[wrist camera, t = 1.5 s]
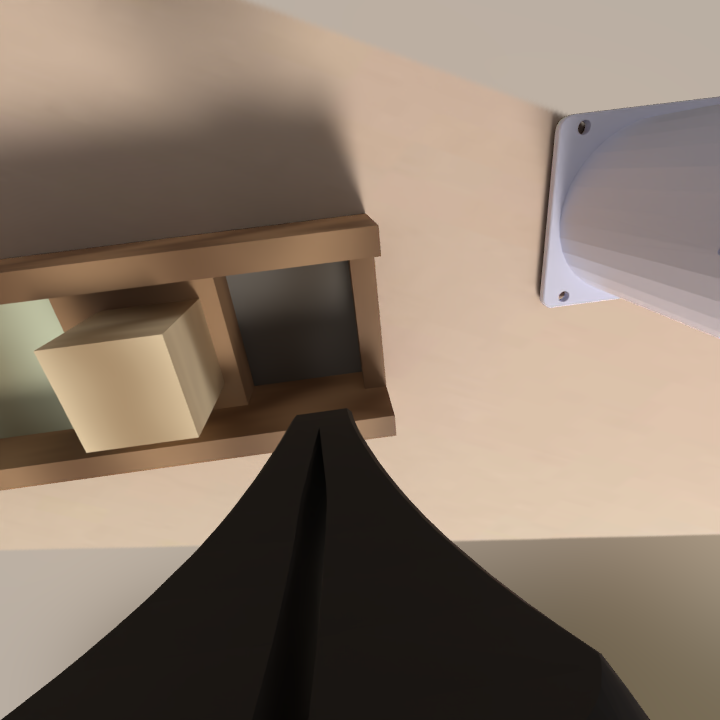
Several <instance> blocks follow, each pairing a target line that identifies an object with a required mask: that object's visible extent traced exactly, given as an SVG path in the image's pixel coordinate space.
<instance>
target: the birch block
mask: <svg viewBox="0 0 720 720" xmlns="http://www.w3.org/2000/svg"><path fill="white" fill-rule="evenodd" d="M34 353H35V355H36V357H37V359H38V361H39V363H40V365H41V367H42V369H43V371H44V373H45V374H46V376H47V378H48V380H49V382H50V384H51V386H52V388H53V390H54V392H55V394H56V396H57V397H58V399H59V401H60V403H61V405H62V407H63V409H64V411H65V413H66V415H67V417H68V418H69V420H70V422H71V424H72V426H73V428H74V430H75V432H76V434H77V436H78V438H79V440H80V441H81V443H82V445H83V447H84V449H85V451H86V453H89V452H96V451H104V450H111V449H118V448H125V447H133V446H140V445H147V444H154V443H162V442H169V441H176V440H183V439H191V438H198V437H199V436H200V434H201V432H202V430H203V428H204V426H205V424H206V422H207V420H208V418H209V416H210V414H211V411H212V409H213V407H214V405H215V403H216V401H217V399H218V397H219V395H220V393H221V391H222V389H223V387H224V385H225V382H224V379H223V375H222V372H221V369H220V365H219V362H218V359H217V355H216V352H215V349H214V345H213V342H212V339H211V335H210V332H209V329H208V325H207V322H206V319H205V315H204V312H203V309H202V305H201V302H200V298H198V299H191V300H183V301H175V302H167V303H160V304H152V305H144V306H136V307H129V308H121V309H113V310H105V311H100V312H98V313H97V314H95V315H93V316H92V317H90V318H88V319H86V320H85V321H83V322H81V323H80V324H78V325H76V326H75V327H73V328H71V329H70V330H68V331H66V332H65V333H63V334H61V335H60V336H58V337H56V338H55V339H53V340H51V341H50V342H48V343H46V344H45V345H43V346H41V347H40V348H38V349H36V350H35V351H34Z"/></svg>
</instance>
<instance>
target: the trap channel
mask: <svg viewBox="0 0 720 720" xmlns="http://www.w3.org/2000/svg"><path fill="white" fill-rule="evenodd" d="M378 256H381V251H380V239H379V227H378V225H377V224H376V223H375V222H374V221H373V220H372V219H371V218H370V217H369V216H368V215H367V214H358V215H350V216H342V217H334V218H326V219H318V220H310V221H302V222H294V223H286V224H278V225H270V226H262V227H254V228H246V229H238V230H230V231H222V232H214V233H206V234H198V235H190V236H182V237H174V238H166V239H158V240H150V241H142V242H134V243H126V244H118V245H110V246H102V247H94V248H86V249H79V250H71V251H63V252H55V253H47V254H39V255H31V256H23V257H15V258H7V259H0V490H8V489H15V488H22V487H29V486H36V485H43V484H51V483H58V482H65V481H72V480H79V479H87V478H94V477H101V476H108V475H115V474H122V473H130V472H137V471H144V470H151V469H158V468H165V467H173V466H180V465H187V464H194V463H201V462H209V461H216V460H223V459H230V458H237V457H244V456H252V455H259V454H266V453H273V452H274V450H275V449H276V447H277V445H278V444H279V442H280V441H281V439H282V437H283V436H284V434H285V432H286V430H287V429H288V427H289V425H290V424H291V422H292V420H293V419H294V418H295V416H296V415H301V414H308V413H315V412H323V411H330V410H337V409H344V408H348V409H349V410H350V411H352V414H353V418H354V420H355V423H356V425H357V427H358V429H359V431H360V433H361V435H362V436H363V438H364V440H366V439H374V438H381V437H388V436H395V435H396V426H395V415H394V412H393V408H392V405H391V401H390V398H389V394H388V391H387V387H386V379H385V369H384V358H383V347H382V336H381V326H380V315H379V304H378V293H377V283H376V272H375V261H374V257H378ZM198 298H200V302H201V305H202V309H203V312H204V315H205V319H206V322H207V325H208V329H209V332H210V335H211V339H212V342H213V345H214V349H215V352H216V355H217V359H218V362H219V365H220V369H221V372H222V375H223V379H224V382H225V385H224V387H223V389H222V391H221V393H220V395H219V397H218V399H217V401H216V403H215V405H214V407H213V409H212V411H211V414H210V416H209V418H208V420H207V422H206V424H205V426H204V428H203V430H202V432H201V434H200V436H199V437H198V438H191V439H183V440H176V441H169V442H162V443H154V444H147V445H140V446H133V447H125V448H118V449H111V450H104V451H96V452H89V453H86V451H85V449H84V447H83V445H82V443H81V441H80V440H79V438H78V436H77V434H76V432H75V430H74V428H73V426H72V424H71V422H70V420H69V418H68V417H67V415H66V413H65V411H64V409H63V407H62V405H61V403H60V401H59V399H58V397H57V396H56V394H55V392H54V390H53V388H52V386H51V384H50V382H49V380H48V378H47V376H46V374H45V373H44V371H43V369H42V367H41V365H40V363H39V361H38V359H37V357H36V355H35V353H34V351H35V350H36V349H38V348H40V347H41V346H43V345H45V344H46V343H48V342H50V341H51V340H53V339H55V338H56V337H58V336H60V335H61V334H63V333H65V332H66V331H68V330H70V329H71V328H73V327H75V326H76V325H78V324H80V323H81V322H83V321H85V320H86V319H88V318H90V317H92V316H93V315H95V314H97V313H98V312H100V311H105V310H113V309H121V308H129V307H136V306H144V305H152V304H160V303H167V302H175V301H183V300H191V299H198Z"/></svg>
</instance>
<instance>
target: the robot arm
mask: <svg viewBox="0 0 720 720" xmlns="http://www.w3.org/2000/svg"><path fill="white" fill-rule="evenodd" d="M581 121H583V122H584V124H585V129H584V132H583V133H582V134H580V133H579V132H578V126H579V124H580V123H581ZM563 291H565V294H564V297H563V298H562V299H559V298H558V297H559V294H560V293H561V292H563ZM620 298H621V299H624V300H626V301H629V302H631V303H634V304H636V305H638V306H641V307H643V308H646V309H648V310H650V311H653V312H655V313H658V314H660V315H663V316H665V317H667V318H670V319H672V320H675V321H677V322H680V323H682V324H684V325H687V326H689V327H692V328H694V329H697V330H699V331H701V332H704V333H706V334H709V335H711V336H713V337H716V338H718V339H720V97H713V98H704V99H696V100H688V101H680V102H671V103H664V104H654V105H646V106H638V107H630V108H621V109H613V110H605V111H597V112H588V113H580V114H573V115H568V116H566V117H564V118H562V119H561V120H560V121H559V123H558V124H557V126H556V130H555V140H554V150H553V161H552V172H551V183H550V193H549V204H548V215H547V225H546V236H545V247H544V257H543V268H542V279H541V290H540V301H541V303H542V304H543V305H545V306H547V307H551V308H553V307H560V306H568V305H575V304H583V303H590V302H598V301H605V300H613V299H620ZM2 720H650V719H649V718H648V716H647V715H646V714H645V712H644V711H643V709H642V708H641V707H640V705H639V704H638V702H637V701H636V700H635V698H634V697H633V695H632V694H631V693H630V691H629V690H628V688H627V687H626V686H625V684H624V683H623V682H622V680H621V679H620V678H619V677H618V675H617V674H616V673H615V671H614V670H613V669H612V667H611V666H610V665H609V663H608V662H607V661H606V660H605V658H604V657H603V656H602V654H600V653H599V652H598V651H596V650H595V649H593V648H592V647H590V646H589V645H587V644H586V643H584V642H583V641H581V640H580V639H578V638H577V637H575V636H574V635H572V634H571V633H569V632H568V631H566V630H565V629H564V628H562V627H561V626H559V625H558V624H556V623H555V622H553V621H552V620H551V619H549V618H548V617H546V616H545V615H544V614H542V613H541V612H539V611H538V610H537V609H535V608H534V607H532V606H531V605H530V604H528V603H527V602H526V601H524V600H523V599H522V598H520V597H519V596H518V595H516V594H515V593H514V592H512V591H511V590H510V589H509V588H507V587H506V586H505V585H503V584H502V583H501V582H499V581H498V580H497V579H495V578H494V577H493V576H491V575H490V574H489V573H488V572H487V571H486V570H484V569H483V568H482V567H481V566H480V565H478V564H477V563H476V562H475V561H474V560H473V559H472V558H470V557H469V556H468V555H467V554H466V553H465V552H463V551H462V550H461V549H460V548H459V547H457V546H456V545H455V544H454V543H453V542H452V541H450V540H449V539H448V538H447V537H446V536H445V535H444V534H443V533H442V532H441V531H440V530H439V529H438V528H437V527H436V526H435V525H434V524H432V523H431V522H430V521H429V520H428V519H427V518H426V517H425V516H424V515H423V514H422V512H421V511H420V510H419V509H418V508H417V507H416V506H415V505H414V504H413V503H412V502H411V501H410V500H409V499H408V497H407V496H406V495H405V494H404V493H403V492H402V491H401V489H400V488H399V487H398V486H397V485H396V483H395V482H394V481H393V480H392V478H391V477H390V476H389V475H388V473H387V472H386V471H385V469H384V468H383V467H382V465H381V464H380V463H379V461H378V460H377V458H376V457H375V455H374V454H373V452H372V451H371V449H370V448H369V446H368V445H367V443H366V442H365V440H364V438H363V436H362V435H361V433H360V431H359V429H358V427H357V425H356V423H355V420H354V418H353V414H352V411H350V410H349V409H348V408H344V409H337V410H330V411H323V412H315V413H308V414H301V415H296V416H295V418H294V419H293V420H292V422H291V424H290V425H289V427H288V429H287V430H286V432H285V434H284V436H283V437H282V439H281V441H280V442H279V444H278V445H277V447H276V449H275V450H274V452H273V453H272V455H271V456H270V458H269V459H268V461H267V462H266V464H265V465H264V467H263V468H262V470H261V471H260V473H259V474H258V476H257V477H256V479H255V480H254V481H253V483H252V484H251V485H250V487H249V488H248V489H247V491H246V492H245V493H244V495H243V496H242V497H241V499H240V500H239V501H238V503H237V504H236V505H235V507H234V508H233V509H232V510H231V511H230V513H229V514H228V515H227V516H226V518H225V519H224V520H223V521H222V522H221V524H220V525H219V526H218V527H217V528H216V529H215V531H214V532H213V533H212V534H211V535H210V536H209V537H208V538H207V540H206V541H205V542H204V543H203V544H202V545H201V546H200V547H199V548H198V550H197V551H196V552H195V553H194V554H193V555H192V556H191V557H190V558H189V559H188V560H187V561H186V562H185V563H184V564H183V565H182V566H181V567H180V568H179V569H177V570H176V571H175V572H174V573H173V575H171V576H170V577H169V578H168V579H167V580H166V581H165V582H164V583H163V584H162V585H161V586H160V587H159V588H158V589H157V590H156V591H155V592H154V593H153V594H152V595H151V596H150V597H149V598H148V599H147V600H146V601H145V602H143V603H142V604H141V605H140V606H139V607H138V608H137V609H136V610H135V611H133V612H132V613H131V614H130V615H129V616H128V617H127V618H126V619H124V620H123V621H122V622H121V623H120V624H119V625H118V626H117V627H116V628H114V629H113V630H112V631H111V632H110V633H108V634H107V635H106V636H105V637H104V638H103V639H101V640H100V641H99V642H98V643H97V644H96V645H94V646H93V647H92V648H91V649H90V650H88V651H87V652H86V653H85V654H84V655H83V656H81V657H80V658H79V659H78V660H76V661H75V662H74V663H73V664H72V665H70V666H69V667H68V668H67V669H65V670H64V671H63V672H62V673H61V674H59V675H58V676H57V677H56V678H54V679H53V680H52V681H50V682H49V683H48V684H47V685H45V686H44V687H43V688H41V689H40V690H39V691H38V692H36V693H35V694H34V695H32V696H31V697H30V698H29V699H27V700H26V701H25V702H24V703H22V704H21V705H20V706H18V707H17V708H16V709H15V710H13V711H12V712H11V713H9V714H8V715H7V716H5V717H4V718H3V719H2Z"/></svg>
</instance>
